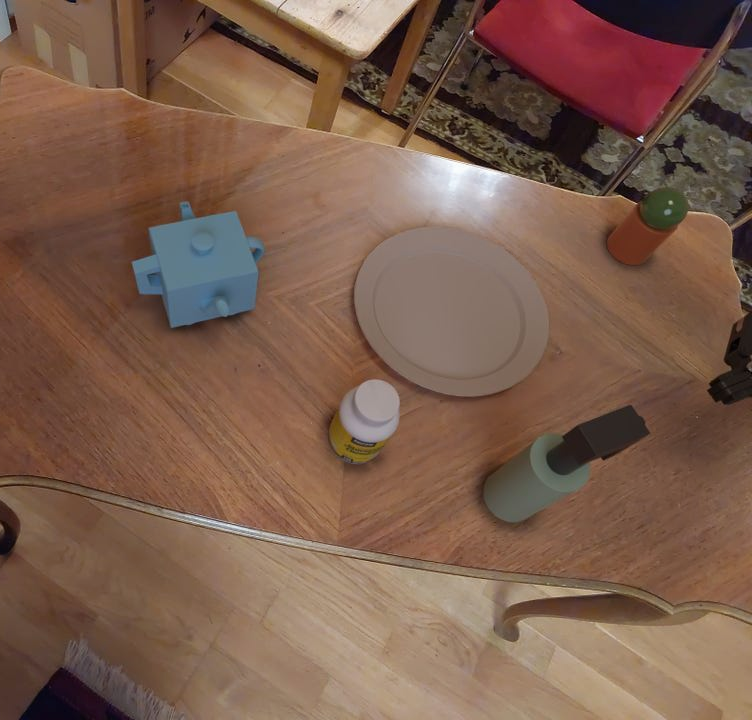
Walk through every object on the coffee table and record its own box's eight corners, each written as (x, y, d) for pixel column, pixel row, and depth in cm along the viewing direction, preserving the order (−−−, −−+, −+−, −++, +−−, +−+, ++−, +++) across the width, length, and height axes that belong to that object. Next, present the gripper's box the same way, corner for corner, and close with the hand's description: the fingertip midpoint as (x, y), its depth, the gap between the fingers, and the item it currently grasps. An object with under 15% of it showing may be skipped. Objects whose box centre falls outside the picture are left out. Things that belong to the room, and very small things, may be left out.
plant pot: (643, 234, 95) (694, 179, 85) (651, 267, 92) (705, 215, 82) (603, 229, 95) (649, 174, 85) (610, 262, 92) (658, 210, 82)
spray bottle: (534, 457, 78) (630, 386, 60) (561, 504, 75) (670, 444, 57) (473, 481, 76) (554, 415, 58) (499, 530, 73) (592, 477, 55)
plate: (382, 417, 78) (386, 411, 76) (330, 246, 89) (332, 237, 88) (573, 385, 83) (581, 378, 81) (501, 225, 94) (506, 216, 92)
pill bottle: (323, 460, 75) (342, 422, 65) (330, 409, 78) (349, 365, 68) (379, 470, 75) (406, 435, 65) (383, 419, 78) (410, 377, 68)
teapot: (241, 232, 89) (245, 173, 79) (282, 344, 82) (293, 294, 72) (126, 255, 86) (115, 197, 76) (158, 374, 78) (150, 327, 68)
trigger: (597, 434, 67) (625, 415, 63) (612, 457, 66) (641, 440, 62) (588, 438, 67) (615, 419, 63) (602, 461, 66) (631, 444, 62)
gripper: (828, 272, 67) (699, 318, 63) (927, 381, 62) (793, 439, 58) (772, 310, 74) (652, 354, 70) (857, 412, 69) (733, 466, 64)
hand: (716, 393), depth 64 cm, fingers closed
